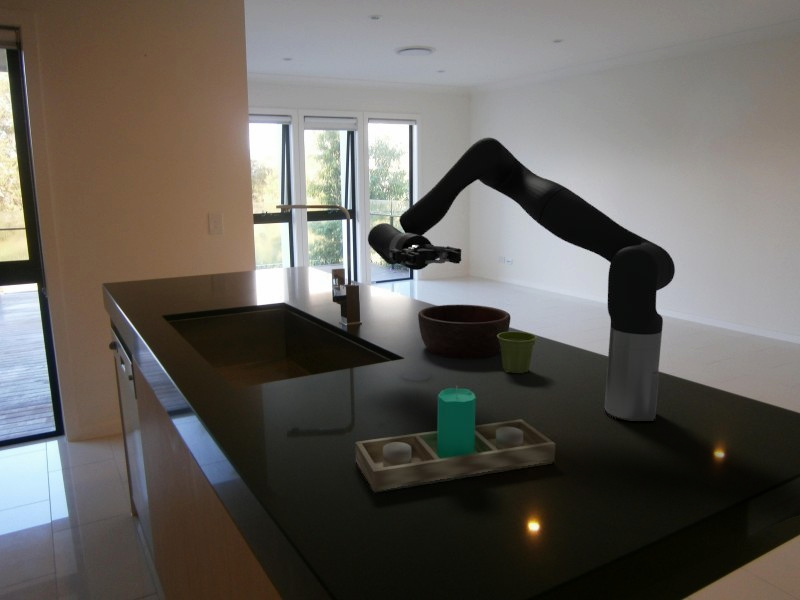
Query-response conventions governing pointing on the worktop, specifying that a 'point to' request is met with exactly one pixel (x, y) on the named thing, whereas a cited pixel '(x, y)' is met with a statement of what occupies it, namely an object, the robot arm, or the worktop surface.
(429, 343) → the wooden bowl
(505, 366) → the plant pot
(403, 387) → the worktop surface
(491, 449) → the tray
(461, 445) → the candle
